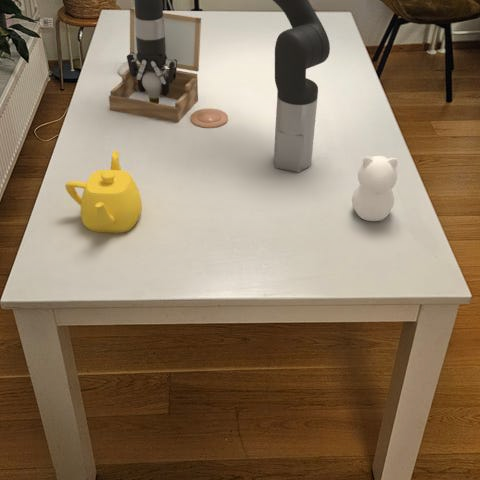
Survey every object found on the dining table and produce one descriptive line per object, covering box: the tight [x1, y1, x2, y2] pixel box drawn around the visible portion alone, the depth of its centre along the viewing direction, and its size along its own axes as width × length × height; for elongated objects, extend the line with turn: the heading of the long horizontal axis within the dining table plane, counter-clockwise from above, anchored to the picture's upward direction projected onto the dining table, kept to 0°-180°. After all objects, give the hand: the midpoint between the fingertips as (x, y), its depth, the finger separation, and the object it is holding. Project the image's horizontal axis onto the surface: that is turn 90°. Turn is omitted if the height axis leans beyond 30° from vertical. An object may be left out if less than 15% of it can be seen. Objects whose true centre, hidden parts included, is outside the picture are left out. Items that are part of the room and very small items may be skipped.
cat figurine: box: [351, 155, 398, 222], centre depth 151 cm, size 9×12×15 cm
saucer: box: [189, 108, 229, 129], centre depth 188 cm, size 10×10×1 cm
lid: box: [129, 7, 202, 72], centre depth 191 cm, size 14×20×1 cm
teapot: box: [65, 149, 143, 234], centre depth 148 cm, size 22×16×11 cm
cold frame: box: [108, 64, 199, 123], centre depth 192 cm, size 14×20×8 cm
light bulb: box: [142, 71, 162, 104], centre depth 191 cm, size 6×6×10 cm
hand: (153, 93), depth 192 cm, fingers closed on light bulb, 6 cm apart
